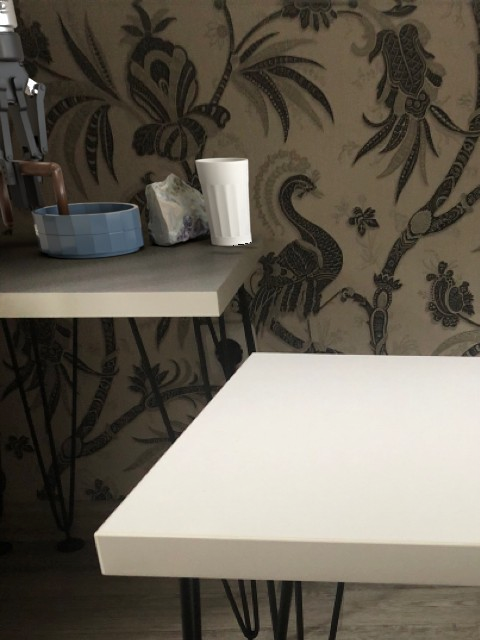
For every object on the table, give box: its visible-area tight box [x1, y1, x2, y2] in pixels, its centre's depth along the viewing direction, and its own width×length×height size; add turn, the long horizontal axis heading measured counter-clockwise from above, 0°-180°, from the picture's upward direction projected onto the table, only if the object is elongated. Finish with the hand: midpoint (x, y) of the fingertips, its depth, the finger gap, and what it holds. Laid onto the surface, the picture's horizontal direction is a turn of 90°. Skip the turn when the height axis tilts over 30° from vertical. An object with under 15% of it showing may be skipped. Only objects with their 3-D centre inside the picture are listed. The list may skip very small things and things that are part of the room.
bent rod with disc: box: [0, 159, 70, 228], centre depth 141 cm, size 21×6×10 cm, turn 58°
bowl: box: [31, 202, 145, 259], centre depth 140 cm, size 15×15×6 cm
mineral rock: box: [144, 172, 210, 247], centre depth 147 cm, size 13×11×10 cm
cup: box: [194, 157, 253, 247], centre depth 144 cm, size 8×8×12 cm
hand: (28, 206), depth 144 cm, fingers closed on bent rod with disc, 2 cm apart
